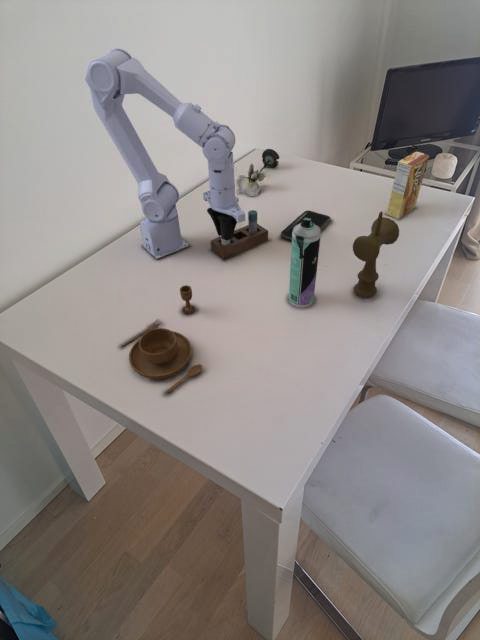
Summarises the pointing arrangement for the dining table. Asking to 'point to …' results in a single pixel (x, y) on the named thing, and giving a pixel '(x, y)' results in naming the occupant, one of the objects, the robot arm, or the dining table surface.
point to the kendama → (373, 253)
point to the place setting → (163, 349)
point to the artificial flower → (250, 182)
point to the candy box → (407, 184)
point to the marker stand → (239, 242)
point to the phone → (316, 219)
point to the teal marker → (252, 221)
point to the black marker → (223, 238)
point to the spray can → (304, 263)
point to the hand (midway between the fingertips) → (225, 236)
